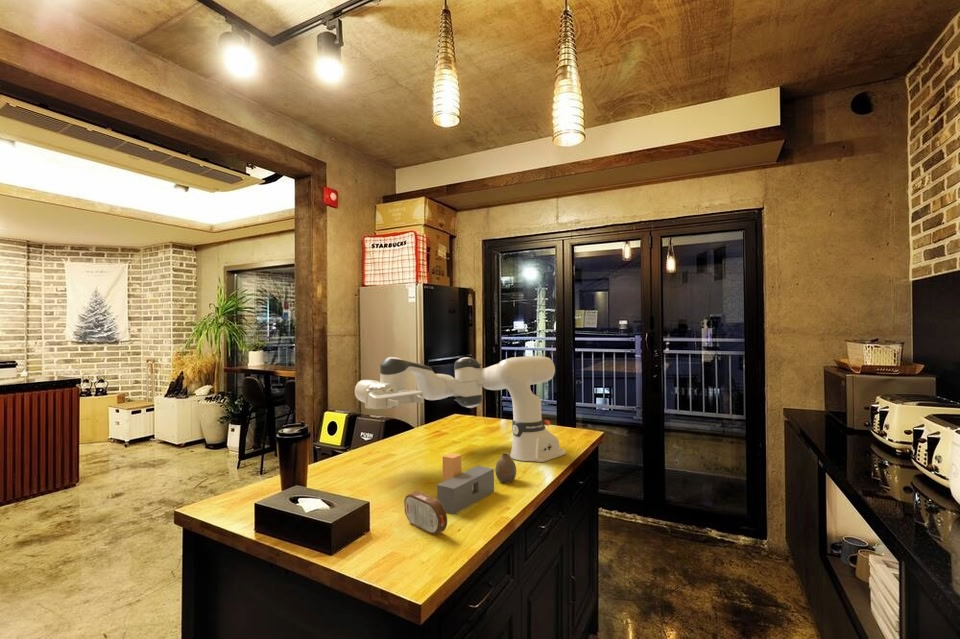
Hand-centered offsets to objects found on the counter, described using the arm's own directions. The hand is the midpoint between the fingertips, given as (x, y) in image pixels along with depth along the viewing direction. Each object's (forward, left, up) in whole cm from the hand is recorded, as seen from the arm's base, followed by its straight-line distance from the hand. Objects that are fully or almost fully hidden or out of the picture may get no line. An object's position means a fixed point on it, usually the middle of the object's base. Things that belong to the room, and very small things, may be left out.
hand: (410, 402), depth 149 cm
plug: (-6, +21, -26) cm, 34 cm away
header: (-7, +23, -26) cm, 36 cm away
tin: (+11, +33, -27) cm, 44 cm away
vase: (-26, +16, -27) cm, 41 cm away
